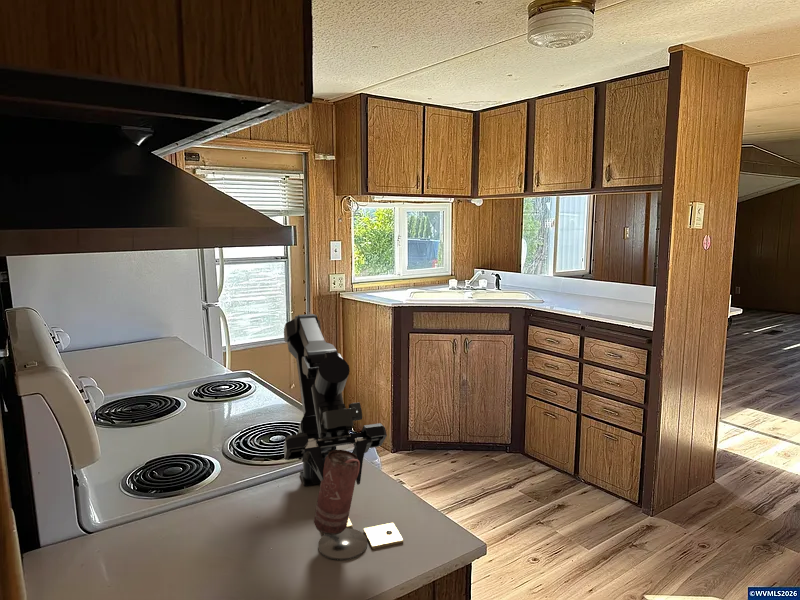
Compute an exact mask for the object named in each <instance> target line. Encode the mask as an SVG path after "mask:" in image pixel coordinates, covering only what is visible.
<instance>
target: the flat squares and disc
mask: <svg viewBox="0 0 800 600" xmlns="http://www.w3.org/2000/svg"><path fill="white" fill-rule="evenodd" d="M320 533H321V534H322V536H321V537H320V538H319V541H318V551H319V553H320V554H321V555H322V556H323V557H325V558H326V559H329V560H334V561H347V560H348V561H349V560H352V559H355V558H357V557H359V556H362V554H363V553H364V552H365V551H366V550H367V547H368V543H369V545H370V547H371V549H372V550H375V549H380V548H386V547H389V546H394V545H398V544H399V545H400V544H403V543H404V539H403V537H402V535H401V534H400V532H399V530H398V528H397V527H396V524H395V523H394V522H390V523H385V524H379V525H375V526H369V527H364V528H363V532H362V531H360V530H357V529H355V528H353V524H352V522H351V519H350V518H349V517H348V522H347V527H346V528H345V530H344V531H343V532H341V533H339V534H337V535H328V534H324V533H322V532H320Z"/></svg>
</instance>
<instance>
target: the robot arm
mask: <svg viewBox="0 0 800 600" xmlns="http://www.w3.org/2000/svg"><path fill="white" fill-rule="evenodd" d="M283 338H284V342H285V343H287V349H288V352H289V353H290V354H291V355H292V356H293V357H294V358H295V359H296V368H297V375H298V382H299V388H300V389H299V390H300V396H301V404H302V413H303V416H302V419H301V421H300V424H299V426H298V433H296V434H291V435H289V434H288V435H287V437H285V439H284V442H283V443H284V444H283V454H284V460H286V461H291V460H292V461H293V460H301V462H302V471H300V472H299V475H300V478H301V482H302V484H303V486H304V487H308V486H316V485H321V480H324V479H323V469H324V463H325V458H326V457H327V455H328V453H329V452H331V451H333V450H337V447H338V446H344V445H353V447H354V448H353V450H352V451H351V453H353V454H355V455H356V456H357V458H358V460H359V462H360V468H359V473H358V476H357V479H356V481H355V483H356V485H357V486H358V485H360V484H361V481H362V478H361V477H362V470H363V462H364V457H365V454H366V453H368V452H369V450H370V449H374V448H378V447H381V446H382V445H383V443H384V442H385V441H386V438H387V437H388V434H387V430H386V427H385V425H383V424H382V423H381V422H380V423H372V424H365V425H363V426H362V429H361V431H360V432H359V431H358V432H351V433H350V431H352V430H353V426H354V422H355V421H361V420H363V410H362V406H361V405H362V404H361V403H360V402H352V403H349V404H348V408H346V405H345V403H344V397H343V391H344V389H345V387H346V383H347V381H348V378H349V375H350V372H351V371H350V365H349V364H348V362H347V361H346V360H345V359H344V358H343V357H342V354H341V353H338V349H336V346H335V345H334V344H332V343H329V342H327V341H326V340H325V337H324V335H323V333H322V328H321V320H320V319H318V315H317V314H314V313H307V314H297V315H295V316H294V318H293V319H291V320H290V321H287V322H286V323H285V324H284V328H283Z"/></svg>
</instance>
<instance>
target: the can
mask: <svg viewBox="0 0 800 600" xmlns="http://www.w3.org/2000/svg"><path fill="white" fill-rule="evenodd" d="M359 468H360V462H359V460H358V458H357V456H356V455H355V454H353V453H352V451H349V450H346V449H336V450H333V451H331V452H329V453H328V455H327V457H326V458H325V463H324V469H323V479H324V480H321V484H319V485H320V487H319V492H318V496H317V501H316V502H317V503H316V506H315V512H314V518H313V524H314V526H315V529H316V530H317V531H318V532H320V533H321V532H322V533H324V534H328V535H337V534H339V533H341V532H343V531H344V530H345V528H346V527H347V522H348V517H349V516H350V512H351V507H352V501H353V495H354V491H355V487H356V486H355V485H356V479H357V476H358V473H359ZM322 533H321V534H322ZM324 534H323V535H324Z"/></svg>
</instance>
